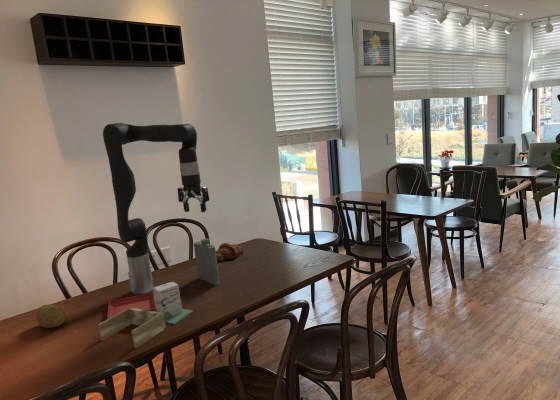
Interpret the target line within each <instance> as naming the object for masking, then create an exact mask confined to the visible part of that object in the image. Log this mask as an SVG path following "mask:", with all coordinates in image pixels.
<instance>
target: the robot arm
mask: <svg viewBox="0 0 560 400" xmlns="http://www.w3.org/2000/svg"><path fill="white" fill-rule="evenodd" d="M102 138H103V142H104V147H105V150H106V155H107V157H108V158H107V159H108V163H109V164H108V165H109V169H110V174H111V175H110V176H111V183H112V188H113V189H112V190H113V195H114V200H115V206H116V218H117V231H118V235H119V239H120V240H121V242H123V243H129V242H134V243H132V244H131V246H129V247H128V248H127V249H126V251H125V253H126V259H127V260H126V261H127V267H128V273H127V275H128V280H129V286H130V292H131V293H133V294H134V295H143V294H148V293H151V292H152V291H153V288H154V287H155V286H154V281H153V274H152V269H151V268H152V267H151V263H150V262H151V261H150V255H149V244H148V231H147V227H146V224H145V221H144V220H143V219H142V218H141V217H137V218H136V217H135V218H133V219H129V211H130V206H131V205H132V202H133V200H134V199H135V195H136V191H137V185H136V180H135V179H136V178H135V174H134V172H133V170H132V168H131V167H130V166H129V164H128V162H127V160H126V158H125V155H124V151H123V146H124V145H126V144H130V143H134V142H139V141H141V142H145V141H146V142H150V143H151V142H153V143H169V142H170V143H171V142H172V143H181V148H179V150H178V158H179V170H180V171H179V172H180V179H181V184H182V186H181V187H177V199H178V200H177V201H178V203H182V204H183V211H184V213H189V212H190V205H189V204H190V203H189V200H190V199H191V198H192V199H196V200H197V201H198V202H199V203H200V204H199V207H200V213H205V212H207V205H206V203H207V202H209V201H210V195H209V191H208V186H204V187H202V186H201V183H202V182H201V181H202V180H201V176H200V169H199V168H200V166H199V164H198V157H197V142H198V133H197V130H196V127H195V126H194V125H193V124H191V123H180V124H151V125H150V124H149V125H134V124H133V125H132V124H127V123H123V122H117V123H109V124H106V125H105V126H104V128H103V131H102Z"/></svg>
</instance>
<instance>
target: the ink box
mask: <svg viewBox="0 0 560 400" xmlns="http://www.w3.org/2000/svg"><path fill="white" fill-rule="evenodd" d="M152 291H153V293H154V299H155V305H156V308H155V310H156V312H161V313H164V319H166V318H169V317H172V316H174V315H177V314H179V313H182V309H183V306H182V300H181V293H180V292H181V291H180V287H179V284H178V283H176V282H174V281H171V282H167V283H163V284H160V285H157V286H154V288H153V290H152Z"/></svg>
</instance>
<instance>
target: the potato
mask: <svg viewBox="0 0 560 400" xmlns="http://www.w3.org/2000/svg"><path fill="white" fill-rule="evenodd" d="M35 317H36V321H37V323H38V324H39V326H41V327H43V328H46V329H51V328H57V327H60V326H61V325H62V324H63V323H64V322H65V320H66V318H67V317H66V313H65V311H64V309H63V308H61V307H60V306H57V305H54V304H49V303H48V304H44V305H41V306H39V308H38V309H37V310H36V314H35Z"/></svg>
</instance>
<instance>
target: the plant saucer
mask: <svg viewBox="0 0 560 400" xmlns="http://www.w3.org/2000/svg"><path fill="white" fill-rule="evenodd" d="M107 306H108V307H107V319H109V318H111V317H112V316H114V315H116V314H118V313H120V312H121V311H123V310H125V309H127V308H128V307H130V308H136V309H142V310H148V311H154V312H155V310H156V303H155V297H154V292H148V293H144V294H137V295H134V296H128V297H124V298H118V299H115V300H110V301H109V302H108V305H107Z"/></svg>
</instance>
